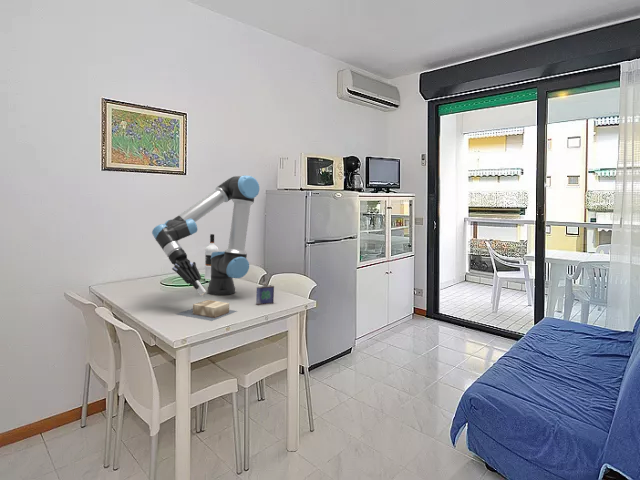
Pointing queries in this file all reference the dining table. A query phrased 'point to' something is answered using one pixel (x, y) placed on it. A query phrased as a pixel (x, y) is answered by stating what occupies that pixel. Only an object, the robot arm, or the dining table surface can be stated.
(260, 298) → the flask
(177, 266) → the robot arm
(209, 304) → the wooden block
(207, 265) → the vodka
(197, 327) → the dining table surface
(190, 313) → the mat
